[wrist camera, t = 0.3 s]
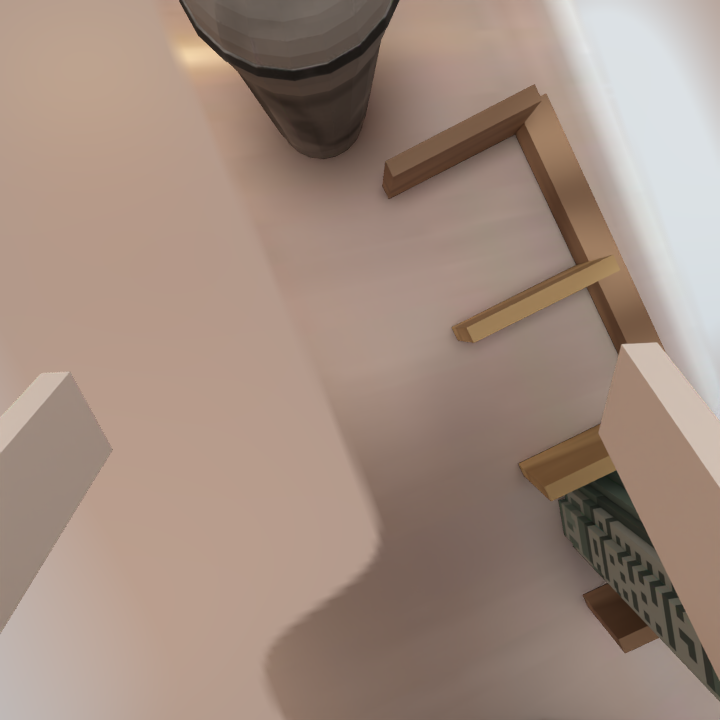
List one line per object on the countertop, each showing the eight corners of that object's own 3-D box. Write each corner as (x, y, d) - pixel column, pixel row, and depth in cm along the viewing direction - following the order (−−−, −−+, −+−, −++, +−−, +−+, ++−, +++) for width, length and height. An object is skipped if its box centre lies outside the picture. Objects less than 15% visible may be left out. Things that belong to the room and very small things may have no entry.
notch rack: (735, 538, 28) (797, 573, 24) (588, 607, 28) (625, 653, 24) (535, 106, 26) (566, 67, 22) (382, 185, 27) (385, 161, 23)
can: (675, 549, 28) (1028, 803, 13) (569, 568, 28) (800, 841, 13) (659, 446, 28) (1006, 588, 13) (552, 465, 28) (771, 628, 13)
